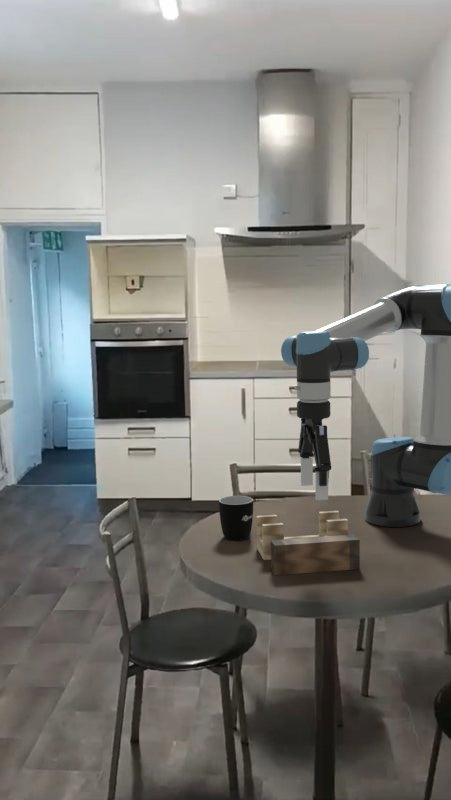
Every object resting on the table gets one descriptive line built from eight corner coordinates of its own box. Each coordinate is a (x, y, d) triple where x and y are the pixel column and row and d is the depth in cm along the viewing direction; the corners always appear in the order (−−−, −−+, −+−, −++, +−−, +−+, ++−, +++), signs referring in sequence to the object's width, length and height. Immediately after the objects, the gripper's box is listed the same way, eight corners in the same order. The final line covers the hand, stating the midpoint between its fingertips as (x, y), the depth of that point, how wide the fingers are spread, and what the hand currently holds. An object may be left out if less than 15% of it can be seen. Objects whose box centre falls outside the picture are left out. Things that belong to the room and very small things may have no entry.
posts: (338, 542, 206) (337, 510, 204) (348, 553, 197) (348, 520, 196) (257, 548, 203) (256, 515, 202) (263, 560, 194) (263, 525, 193)
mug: (243, 544, 206) (242, 506, 205) (213, 539, 211) (212, 502, 210) (265, 531, 217) (264, 495, 215) (236, 527, 221) (235, 491, 220)
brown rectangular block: (354, 563, 190) (354, 534, 190) (359, 568, 187) (359, 539, 186) (271, 569, 188) (270, 540, 187) (274, 575, 184) (274, 545, 183)
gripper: (285, 394, 193) (286, 480, 196) (311, 408, 169) (311, 507, 172) (315, 392, 195) (316, 478, 197) (345, 407, 170) (345, 505, 173)
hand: (314, 492), depth 185 cm, fingers open, 13 cm apart
